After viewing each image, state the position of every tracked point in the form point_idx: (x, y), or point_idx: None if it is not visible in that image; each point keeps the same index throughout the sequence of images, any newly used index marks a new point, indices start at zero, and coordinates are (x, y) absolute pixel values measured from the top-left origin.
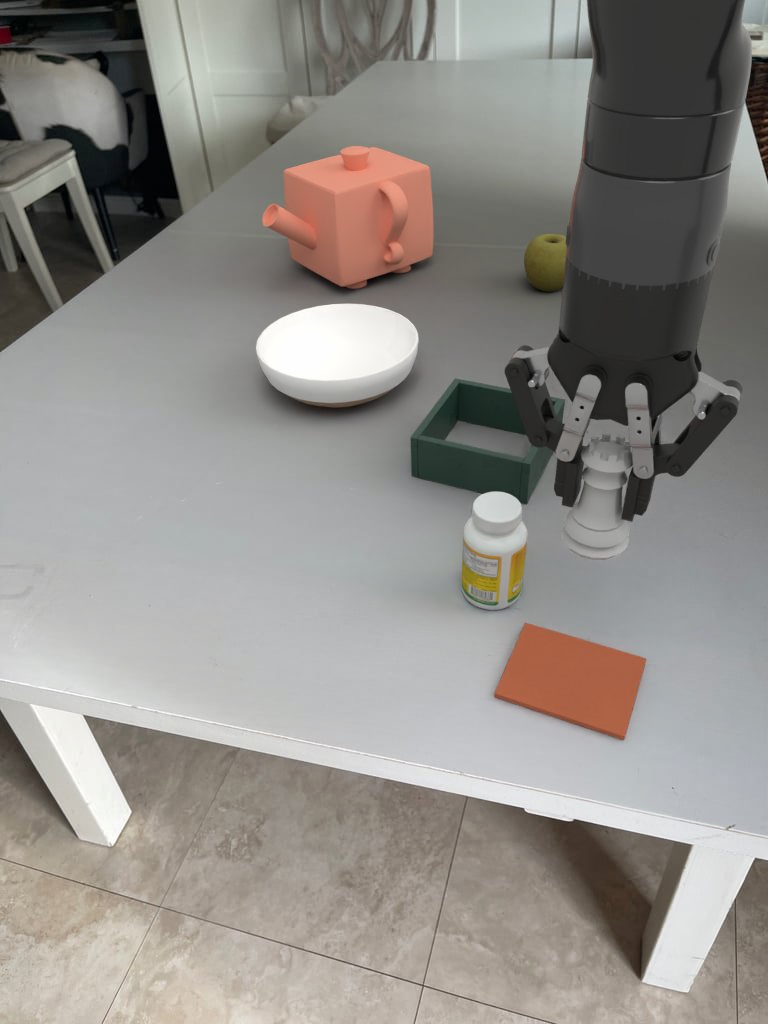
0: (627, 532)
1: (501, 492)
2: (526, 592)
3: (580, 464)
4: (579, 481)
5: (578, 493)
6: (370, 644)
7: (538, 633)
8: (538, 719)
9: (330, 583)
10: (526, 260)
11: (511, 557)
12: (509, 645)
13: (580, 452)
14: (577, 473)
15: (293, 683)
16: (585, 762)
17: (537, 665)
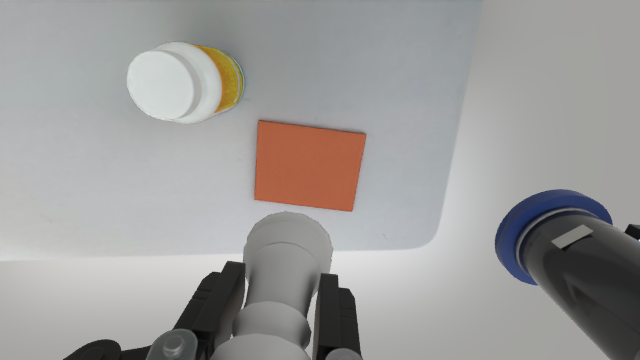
0: (328, 272)
1: (153, 52)
2: (249, 74)
3: (220, 342)
4: (236, 295)
5: (244, 268)
6: (145, 173)
7: (272, 131)
8: (291, 207)
9: (71, 114)
10: None
11: (214, 113)
12: (252, 145)
13: (208, 351)
14: None
15: (113, 221)
16: (327, 231)
17: (279, 165)
